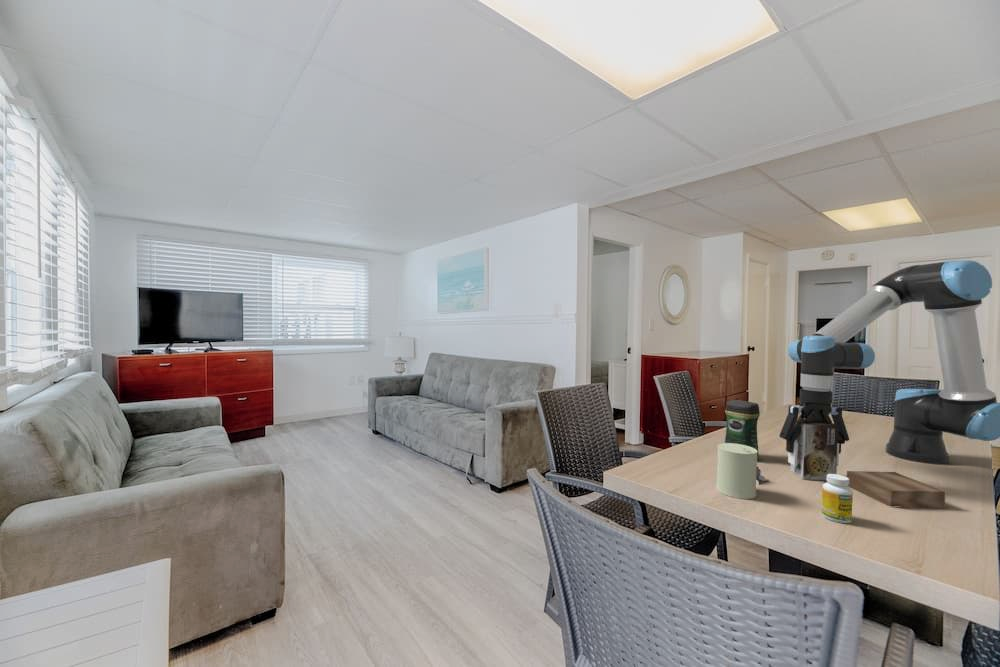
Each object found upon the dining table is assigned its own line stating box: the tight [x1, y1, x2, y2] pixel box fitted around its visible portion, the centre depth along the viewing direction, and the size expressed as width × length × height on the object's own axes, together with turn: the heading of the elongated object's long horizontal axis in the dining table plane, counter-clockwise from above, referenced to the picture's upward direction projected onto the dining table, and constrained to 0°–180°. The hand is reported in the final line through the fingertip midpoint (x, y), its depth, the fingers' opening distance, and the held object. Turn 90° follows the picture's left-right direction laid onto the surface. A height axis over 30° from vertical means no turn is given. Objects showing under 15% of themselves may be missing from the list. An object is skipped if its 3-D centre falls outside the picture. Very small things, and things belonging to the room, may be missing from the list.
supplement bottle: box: [821, 473, 854, 524], centre depth 94 cm, size 5×5×10 cm
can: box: [715, 442, 759, 500], centre depth 108 cm, size 9×9×12 cm
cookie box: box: [790, 418, 838, 481], centre depth 120 cm, size 9×6×16 cm
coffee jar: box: [724, 399, 761, 459], centre depth 137 cm, size 10×8×19 cm
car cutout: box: [756, 466, 766, 486], centre depth 118 cm, size 15×7×4 cm, turn 127°
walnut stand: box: [846, 470, 946, 509], centre depth 107 cm, size 13×13×4 cm
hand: (812, 464), depth 120 cm, fingers open, 11 cm apart
